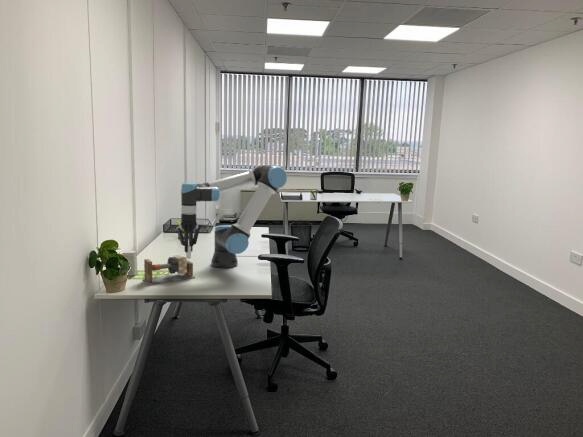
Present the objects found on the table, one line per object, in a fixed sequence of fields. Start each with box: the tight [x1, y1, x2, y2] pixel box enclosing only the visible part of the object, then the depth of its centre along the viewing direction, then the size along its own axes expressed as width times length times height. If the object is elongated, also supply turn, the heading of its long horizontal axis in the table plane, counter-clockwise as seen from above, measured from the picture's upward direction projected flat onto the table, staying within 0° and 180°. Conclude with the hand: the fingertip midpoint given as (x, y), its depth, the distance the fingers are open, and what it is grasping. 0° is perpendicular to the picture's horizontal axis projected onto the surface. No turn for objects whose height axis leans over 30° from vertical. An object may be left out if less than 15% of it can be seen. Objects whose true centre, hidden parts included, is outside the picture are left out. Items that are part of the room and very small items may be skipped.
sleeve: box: [172, 254, 188, 274], centre depth 223 cm, size 4×8×8 cm, turn 36°
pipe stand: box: [142, 258, 196, 286], centre depth 220 cm, size 24×9×11 cm, turn 125°
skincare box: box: [121, 250, 138, 276], centre depth 225 cm, size 6×4×12 cm
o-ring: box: [166, 256, 177, 275], centre depth 220 cm, size 2×8×8 cm, turn 36°
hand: (188, 257), depth 225 cm, fingers closed
